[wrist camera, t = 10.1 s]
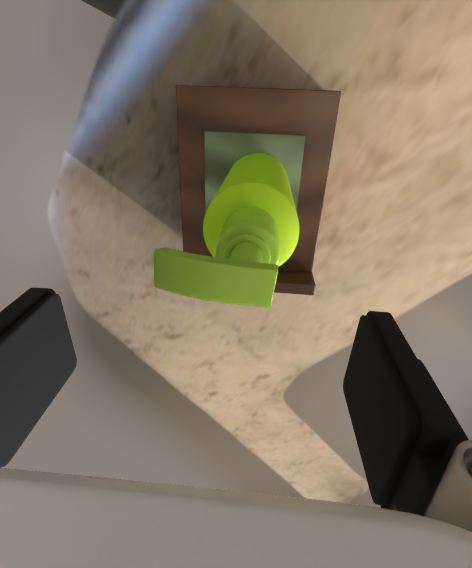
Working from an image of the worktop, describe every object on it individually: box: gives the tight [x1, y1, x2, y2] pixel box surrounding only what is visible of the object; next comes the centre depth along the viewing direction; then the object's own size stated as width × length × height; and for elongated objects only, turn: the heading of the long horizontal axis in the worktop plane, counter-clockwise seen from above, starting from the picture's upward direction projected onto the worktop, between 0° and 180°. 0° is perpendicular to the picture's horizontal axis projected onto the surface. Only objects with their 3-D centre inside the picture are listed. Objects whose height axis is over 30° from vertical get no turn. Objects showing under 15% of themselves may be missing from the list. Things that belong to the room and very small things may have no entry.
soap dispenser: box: [154, 153, 299, 308], centre depth 23 cm, size 6×7×20 cm
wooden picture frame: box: [176, 85, 341, 295], centre depth 34 cm, size 18×14×10 cm
